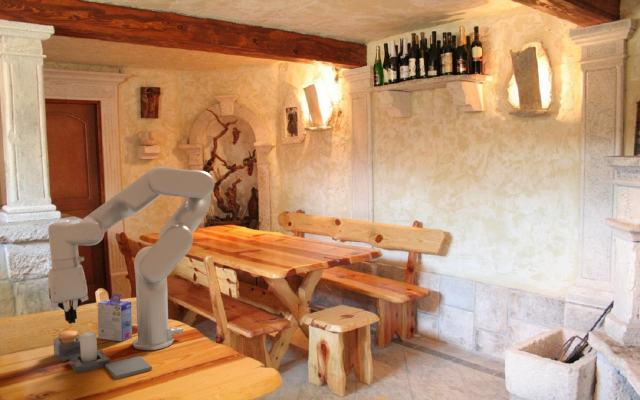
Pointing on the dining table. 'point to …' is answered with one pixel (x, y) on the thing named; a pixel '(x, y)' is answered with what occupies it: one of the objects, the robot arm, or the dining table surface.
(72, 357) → the collar
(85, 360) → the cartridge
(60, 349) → the housing
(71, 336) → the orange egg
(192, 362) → the dining table surface
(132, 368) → the mat
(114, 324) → the ink cartridge box
